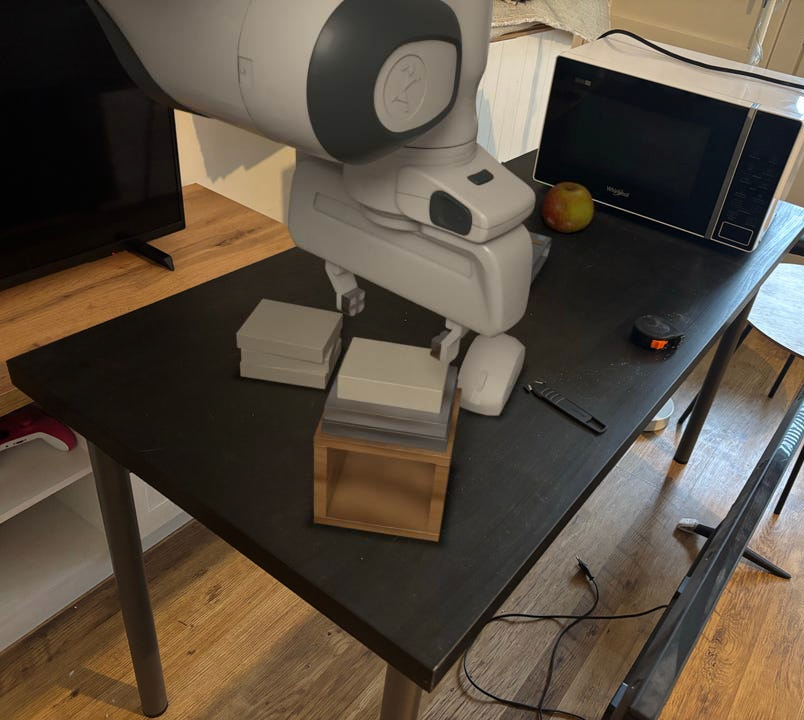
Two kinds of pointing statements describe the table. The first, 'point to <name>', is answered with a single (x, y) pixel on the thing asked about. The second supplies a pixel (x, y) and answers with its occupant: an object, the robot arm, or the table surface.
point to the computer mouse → (490, 373)
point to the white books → (290, 344)
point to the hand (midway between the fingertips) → (395, 333)
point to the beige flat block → (392, 375)
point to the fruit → (568, 207)
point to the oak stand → (384, 464)
